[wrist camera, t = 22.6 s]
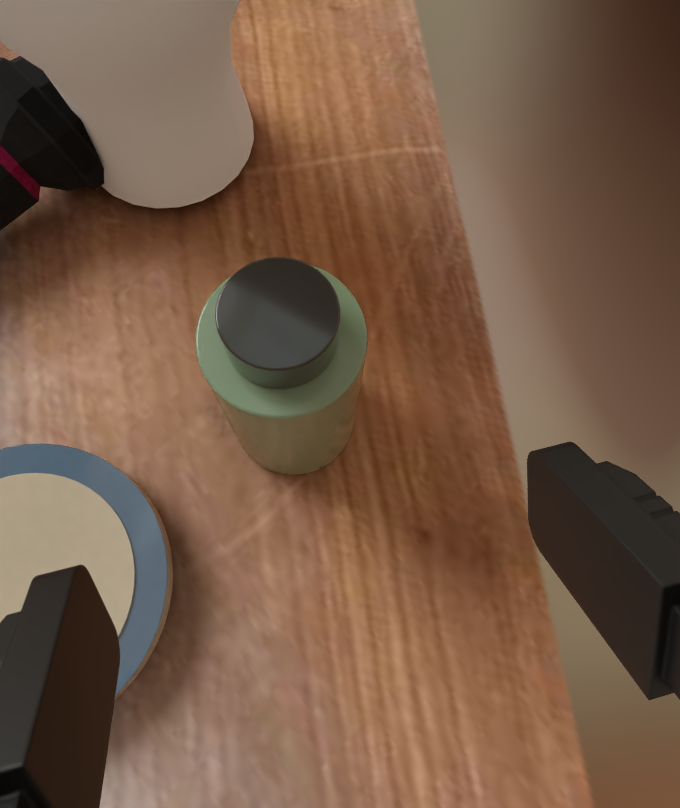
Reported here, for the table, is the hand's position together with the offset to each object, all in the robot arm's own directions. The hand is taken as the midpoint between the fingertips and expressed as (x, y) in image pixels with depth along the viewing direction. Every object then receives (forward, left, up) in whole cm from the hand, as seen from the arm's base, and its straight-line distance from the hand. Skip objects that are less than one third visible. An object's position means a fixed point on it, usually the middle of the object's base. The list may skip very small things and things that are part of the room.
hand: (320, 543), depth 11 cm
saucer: (-9, +5, -13) cm, 16 cm away
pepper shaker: (+2, +6, -13) cm, 14 cm away
